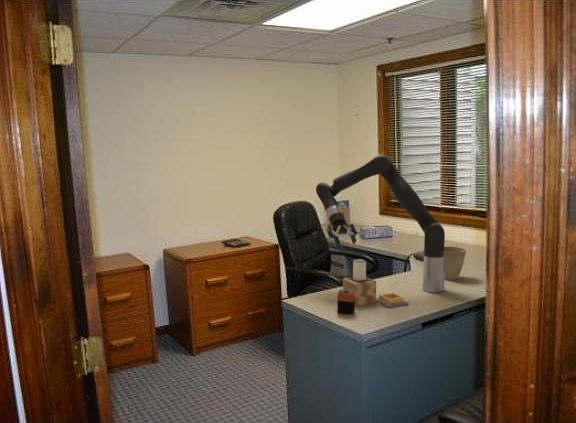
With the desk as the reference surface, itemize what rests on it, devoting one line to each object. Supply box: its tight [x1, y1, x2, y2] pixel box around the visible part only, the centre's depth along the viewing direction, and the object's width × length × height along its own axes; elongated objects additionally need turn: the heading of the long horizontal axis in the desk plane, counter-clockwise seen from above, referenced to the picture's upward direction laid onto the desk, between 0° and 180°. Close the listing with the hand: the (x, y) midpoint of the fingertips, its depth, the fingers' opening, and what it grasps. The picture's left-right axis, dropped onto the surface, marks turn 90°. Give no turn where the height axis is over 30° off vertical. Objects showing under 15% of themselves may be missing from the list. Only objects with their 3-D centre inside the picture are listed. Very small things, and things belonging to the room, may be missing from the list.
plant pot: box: [443, 246, 467, 281], centre depth 260 cm, size 15×15×16 cm
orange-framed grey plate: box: [376, 292, 410, 309], centre depth 220 cm, size 11×11×3 cm
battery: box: [336, 288, 356, 316], centre depth 207 cm, size 4×7×10 cm, turn 71°
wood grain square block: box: [342, 276, 377, 307], centre depth 223 cm, size 11×11×11 cm
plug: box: [352, 258, 367, 281], centre depth 222 cm, size 4×4×9 cm
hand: (346, 243), depth 231 cm, fingers open, 8 cm apart
